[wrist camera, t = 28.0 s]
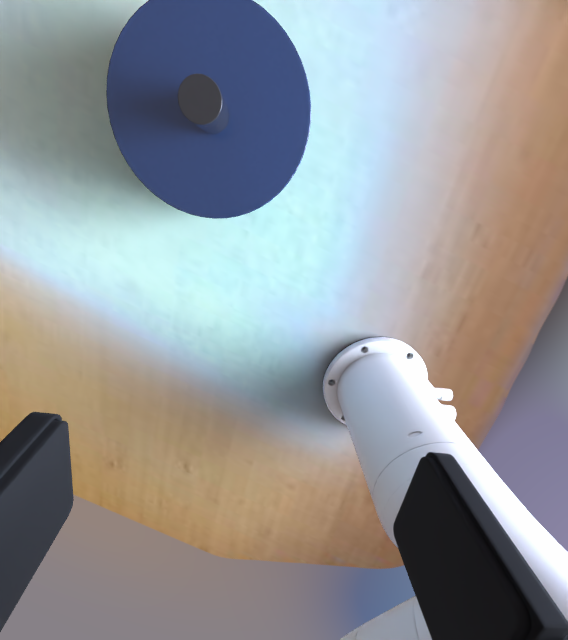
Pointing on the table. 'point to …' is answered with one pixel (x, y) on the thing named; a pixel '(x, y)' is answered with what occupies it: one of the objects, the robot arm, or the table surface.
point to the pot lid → (209, 104)
